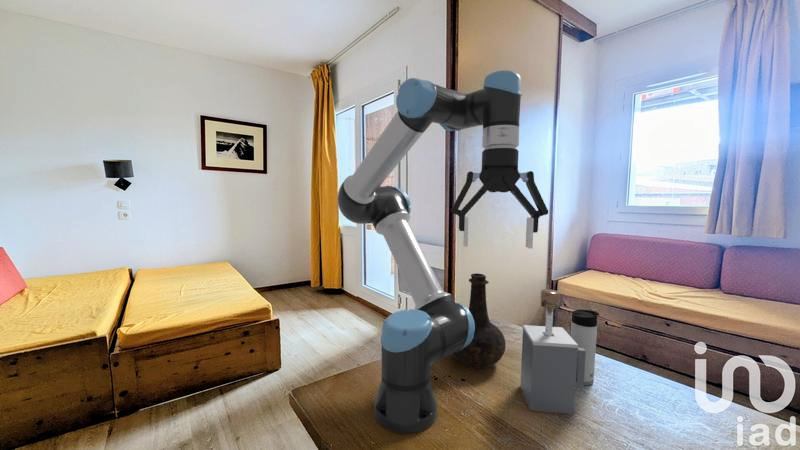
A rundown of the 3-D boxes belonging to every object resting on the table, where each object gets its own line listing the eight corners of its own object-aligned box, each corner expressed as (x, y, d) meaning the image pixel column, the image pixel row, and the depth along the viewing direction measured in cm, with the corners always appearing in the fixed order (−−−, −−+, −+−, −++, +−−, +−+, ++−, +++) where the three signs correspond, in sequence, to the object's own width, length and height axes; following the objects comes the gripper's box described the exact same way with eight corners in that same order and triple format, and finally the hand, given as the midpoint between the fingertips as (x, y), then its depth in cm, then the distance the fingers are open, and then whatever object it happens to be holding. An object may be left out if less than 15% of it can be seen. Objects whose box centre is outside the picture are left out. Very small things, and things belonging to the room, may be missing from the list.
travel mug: (598, 387, 87) (603, 316, 85) (572, 384, 88) (576, 314, 86) (589, 374, 93) (593, 308, 91) (565, 372, 94) (569, 306, 92)
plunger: (539, 386, 79) (544, 294, 77) (534, 376, 83) (538, 289, 81) (558, 387, 78) (563, 295, 76) (552, 377, 83) (556, 289, 81)
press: (530, 410, 77) (533, 341, 76) (520, 385, 87) (523, 325, 86) (590, 415, 75) (594, 345, 74) (573, 390, 85) (576, 328, 84)
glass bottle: (470, 342, 113) (473, 265, 110) (516, 363, 99) (520, 275, 97) (435, 358, 102) (436, 272, 99) (481, 384, 88) (484, 285, 85)
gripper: (441, 147, 66) (439, 247, 68) (568, 145, 63) (562, 251, 65) (441, 152, 74) (440, 242, 76) (555, 150, 70) (550, 245, 72)
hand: (496, 246), depth 70 cm, fingers open, 13 cm apart
